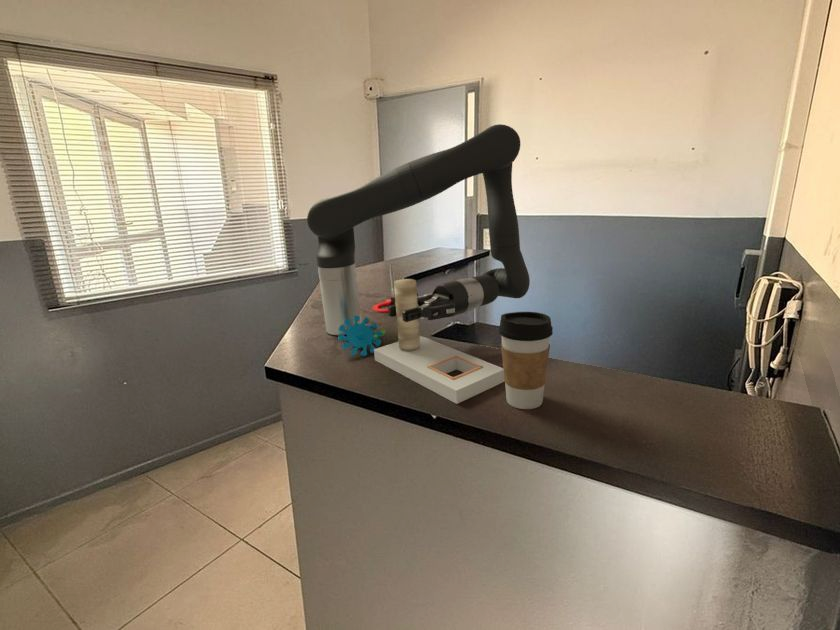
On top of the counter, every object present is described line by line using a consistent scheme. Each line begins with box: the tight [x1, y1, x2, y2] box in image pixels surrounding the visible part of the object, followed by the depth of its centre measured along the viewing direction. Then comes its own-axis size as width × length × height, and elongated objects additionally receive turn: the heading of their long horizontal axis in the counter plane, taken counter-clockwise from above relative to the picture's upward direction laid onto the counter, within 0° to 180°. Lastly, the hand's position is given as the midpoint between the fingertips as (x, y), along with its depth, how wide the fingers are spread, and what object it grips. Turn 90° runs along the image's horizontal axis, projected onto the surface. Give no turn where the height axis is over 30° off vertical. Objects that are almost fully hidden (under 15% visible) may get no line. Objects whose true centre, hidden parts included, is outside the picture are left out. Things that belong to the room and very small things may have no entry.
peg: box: [394, 278, 421, 350], centre depth 90 cm, size 4×4×14 cm
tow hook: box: [372, 263, 396, 314], centre depth 128 cm, size 8×13×9 cm
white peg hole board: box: [373, 335, 505, 405], centre depth 87 cm, size 26×12×3 cm, turn 38°
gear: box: [337, 316, 387, 357], centre depth 100 cm, size 11×6×10 cm
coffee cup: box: [498, 311, 554, 410], centre depth 71 cm, size 8×8×15 cm
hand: (396, 314), depth 88 cm, fingers closed on peg, 4 cm apart
